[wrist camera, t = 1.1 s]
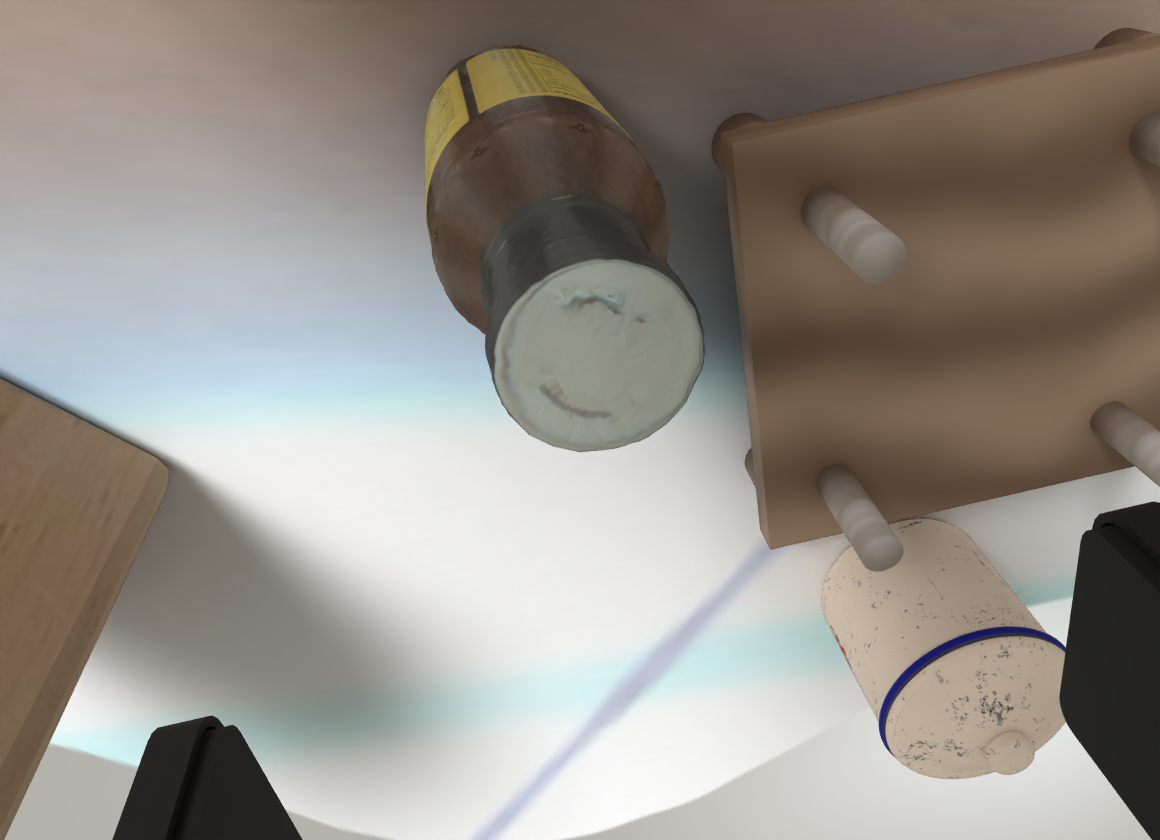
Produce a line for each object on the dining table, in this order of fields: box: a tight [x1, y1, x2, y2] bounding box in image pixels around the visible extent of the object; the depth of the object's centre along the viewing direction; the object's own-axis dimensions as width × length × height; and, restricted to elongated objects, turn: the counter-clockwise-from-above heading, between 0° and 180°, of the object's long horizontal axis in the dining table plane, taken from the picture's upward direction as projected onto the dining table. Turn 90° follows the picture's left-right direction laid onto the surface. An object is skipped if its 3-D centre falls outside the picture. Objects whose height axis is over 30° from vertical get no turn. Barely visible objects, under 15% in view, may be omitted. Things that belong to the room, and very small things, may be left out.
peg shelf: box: [712, 28, 1160, 572], centre depth 35 cm, size 18×18×10 cm
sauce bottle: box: [425, 45, 705, 452], centre depth 25 cm, size 6×6×20 cm
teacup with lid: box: [821, 519, 1066, 779], centre depth 43 cm, size 12×9×12 cm
